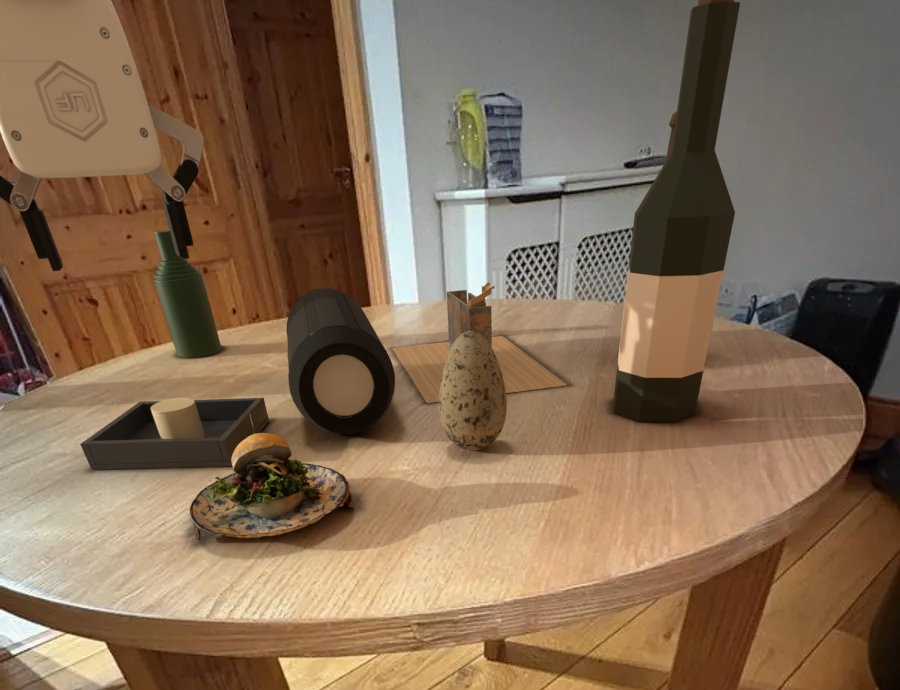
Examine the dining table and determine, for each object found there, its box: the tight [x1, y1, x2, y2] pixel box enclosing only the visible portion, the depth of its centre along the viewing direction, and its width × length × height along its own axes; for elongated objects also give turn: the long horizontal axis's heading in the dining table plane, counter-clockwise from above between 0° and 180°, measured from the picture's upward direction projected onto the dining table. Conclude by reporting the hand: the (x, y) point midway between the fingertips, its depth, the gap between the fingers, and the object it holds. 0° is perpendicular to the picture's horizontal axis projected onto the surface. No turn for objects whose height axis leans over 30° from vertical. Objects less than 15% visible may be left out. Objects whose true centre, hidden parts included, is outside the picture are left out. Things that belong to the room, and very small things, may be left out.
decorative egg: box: [438, 331, 508, 451], centre depth 51 cm, size 6×6×10 cm
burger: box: [189, 410, 355, 541], centre depth 44 cm, size 12×12×8 cm
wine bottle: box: [612, 0, 741, 423], centre depth 51 cm, size 8×8×30 cm
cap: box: [151, 397, 205, 439], centre depth 57 cm, size 4×4×3 cm
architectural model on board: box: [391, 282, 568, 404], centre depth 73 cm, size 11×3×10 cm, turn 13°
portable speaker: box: [286, 287, 396, 436], centre depth 63 cm, size 26×10×10 cm, turn 13°
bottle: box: [153, 229, 223, 359], centre depth 83 cm, size 6×6×15 cm
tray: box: [79, 397, 270, 471], centre depth 58 cm, size 13×11×2 cm
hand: (122, 262), depth 49 cm, fingers open, 9 cm apart
